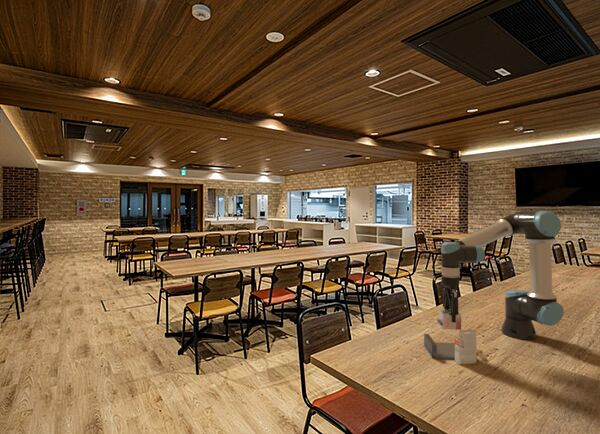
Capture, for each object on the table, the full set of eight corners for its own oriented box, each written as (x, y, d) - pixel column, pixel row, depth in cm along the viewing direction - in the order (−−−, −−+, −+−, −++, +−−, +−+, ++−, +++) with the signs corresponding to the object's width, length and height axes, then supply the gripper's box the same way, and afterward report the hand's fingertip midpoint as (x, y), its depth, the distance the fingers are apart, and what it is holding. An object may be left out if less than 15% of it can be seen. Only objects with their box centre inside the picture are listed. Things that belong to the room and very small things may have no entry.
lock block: (456, 325, 155) (456, 310, 155) (461, 329, 149) (461, 314, 149) (437, 324, 156) (437, 309, 156) (441, 328, 150) (441, 313, 150)
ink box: (454, 361, 144) (454, 327, 144) (471, 360, 145) (471, 326, 145) (459, 364, 141) (459, 330, 140) (476, 363, 142) (476, 329, 141)
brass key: (472, 352, 153) (472, 349, 153) (480, 352, 153) (480, 349, 153) (480, 360, 145) (480, 357, 145) (489, 360, 144) (489, 357, 144)
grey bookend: (463, 347, 158) (463, 334, 158) (474, 359, 146) (474, 346, 145) (424, 346, 160) (424, 333, 160) (432, 358, 147) (431, 344, 147)
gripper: (435, 272, 162) (435, 319, 162) (448, 280, 143) (448, 333, 143) (451, 272, 161) (451, 319, 162) (467, 280, 142) (467, 334, 143)
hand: (450, 326), depth 153 cm, fingers closed on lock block, 6 cm apart
